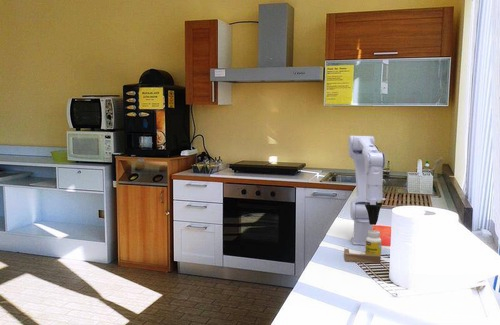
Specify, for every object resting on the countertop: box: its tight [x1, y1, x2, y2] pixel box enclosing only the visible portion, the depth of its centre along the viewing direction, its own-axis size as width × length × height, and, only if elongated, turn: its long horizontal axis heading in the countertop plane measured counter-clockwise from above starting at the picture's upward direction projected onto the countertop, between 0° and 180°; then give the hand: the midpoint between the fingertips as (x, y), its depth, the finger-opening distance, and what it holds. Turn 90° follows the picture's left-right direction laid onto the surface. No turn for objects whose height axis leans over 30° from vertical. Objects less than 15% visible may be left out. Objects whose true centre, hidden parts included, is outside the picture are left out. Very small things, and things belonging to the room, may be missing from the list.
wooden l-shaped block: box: [343, 248, 382, 264], centre depth 172 cm, size 8×12×2 cm, turn 82°
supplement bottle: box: [364, 229, 382, 256], centre depth 173 cm, size 5×5×10 cm
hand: (373, 223), depth 175 cm, fingers open, 7 cm apart
